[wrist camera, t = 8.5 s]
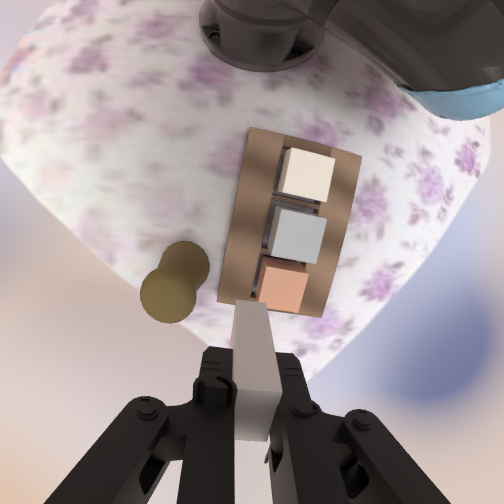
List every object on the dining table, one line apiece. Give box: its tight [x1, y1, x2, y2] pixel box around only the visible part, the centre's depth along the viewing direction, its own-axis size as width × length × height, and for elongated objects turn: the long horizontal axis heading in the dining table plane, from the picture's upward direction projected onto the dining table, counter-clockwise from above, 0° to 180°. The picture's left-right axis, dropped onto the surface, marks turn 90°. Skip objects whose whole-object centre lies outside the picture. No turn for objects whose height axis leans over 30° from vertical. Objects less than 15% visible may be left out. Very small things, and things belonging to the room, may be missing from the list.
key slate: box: [267, 205, 327, 264], centre depth 29 cm, size 4×4×4 cm
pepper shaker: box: [140, 241, 210, 323], centre depth 29 cm, size 6×6×11 cm
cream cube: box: [277, 148, 335, 202], centre depth 29 cm, size 4×4×4 cm
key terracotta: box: [255, 256, 309, 313], centre depth 32 cm, size 4×4×4 cm
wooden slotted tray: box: [217, 127, 362, 318], centre depth 32 cm, size 20×13×2 cm, turn 169°
